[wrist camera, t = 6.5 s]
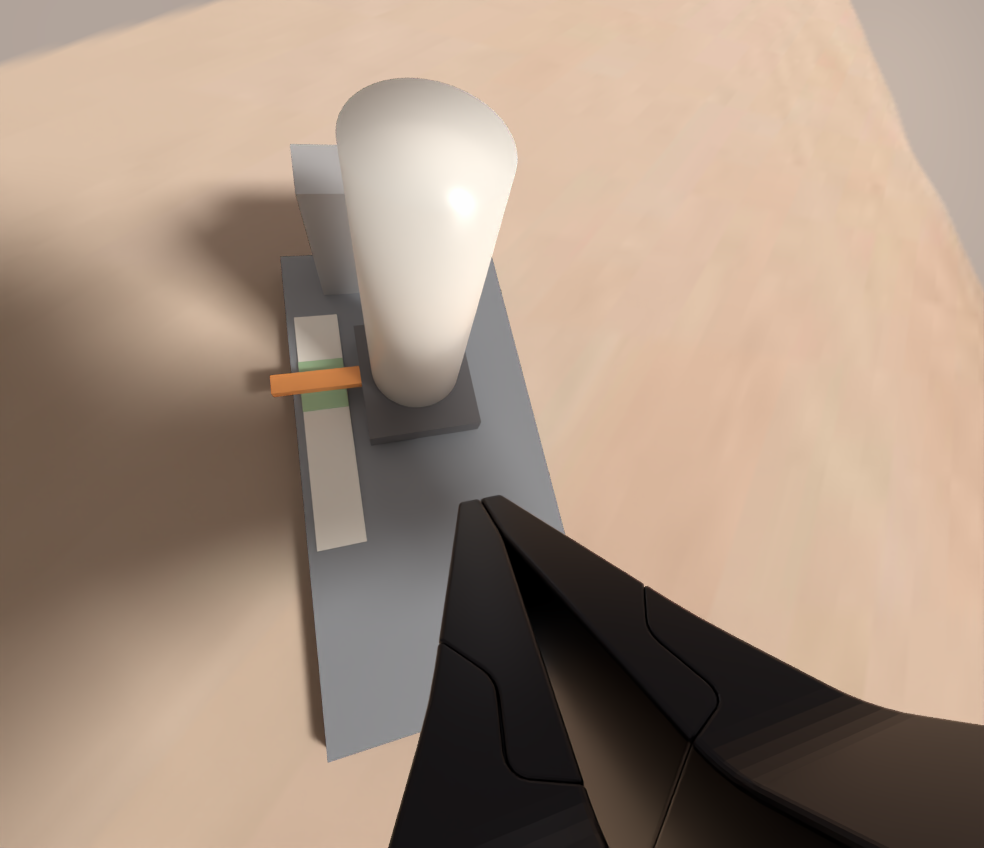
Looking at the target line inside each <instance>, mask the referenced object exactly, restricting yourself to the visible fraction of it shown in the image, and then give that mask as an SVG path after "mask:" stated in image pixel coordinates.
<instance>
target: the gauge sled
mask: <svg viewBox="0 0 984 848" xmlns="http://www.w3.org/2000/svg"><path fill="white" fill-rule="evenodd" d="M336 141H337V148H338V155H339V161H340V168H341V174H342V181H343V187H344V194H345V201H346V207H347V214H348V220H349V227H350V233H351V240H352V247H353V253H354V260H355V266H356V273H357V279H358V286H359V293H360V299H361V306H362V312H363V319H364V325H357V326H353V327H354V334H355V340H356V347H357V354H358V361H359V366H353V367H343V368H334V369H325V370H315V371H306V372H297V373H288V374H278V375H270V384H271V394H272V396H273V397H279V396H288V395H296V394H304V393H313V392H321V391H329V390H338V389H346V388H354V387H362V389H363V396H364V403H365V410H366V417H367V424H368V430H369V437H370V442H371V445H378V444H384V443H391V442H397V441H404V440H410V439H416V438H423V437H429V436H436V435H442V434H449V433H455V432H462V431H468V430H475V429H478V427H479V426H480V424H481V419H480V415H479V410H478V406H477V401H476V397H475V392H474V388H473V384H472V379H471V375H470V370H469V366H468V361H467V357H466V352H465V349H466V346H467V342H468V339H469V335H470V332H471V328H472V325H473V321H474V317H475V314H476V310H477V307H478V303H479V300H480V296H481V293H482V289H483V286H484V282H485V279H486V275H487V272H488V268H489V264H490V261H491V257H492V254H493V250H494V247H495V243H496V240H497V236H498V233H499V229H500V226H501V222H502V218H503V215H504V211H505V208H506V204H507V201H508V197H509V194H510V190H511V187H512V183H513V180H514V176H515V173H516V169H517V161H518V158H517V149H516V145H515V142H514V139H513V136H512V134H511V132H510V131H509V129H508V127H507V126H506V124H505V123H504V122H503V120H502V119H501V118H500V117H499V116H498V115H497V114H496V112H495V111H493V110H492V109H491V108H490V107H489V106H488V105H486V104H485V103H484V102H482V101H481V100H480V99H478V98H476V97H475V96H473V95H471V94H470V93H468V92H466V91H463V90H461V89H459V88H457V87H454V86H451V85H449V84H445V83H442V82H438V81H433V80H428V79H420V78H397V79H390V80H384V81H381V82H377V83H374V84H372V85H369V86H367V87H365V88H363V89H362V90H360V91H358V92H357V93H356V94H354V95H353V96H352V97H351V98H350V99H349V100H348V101H347V102H346V103H345V105H344V106H343V108H342V110H341V111H340V113H339V116H338V119H337V123H336Z"/></svg>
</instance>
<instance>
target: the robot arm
mask: <svg viewBox="0 0 984 848" xmlns="http://www.w3.org/2000/svg"><path fill="white" fill-rule="evenodd" d="M388 848H984V725H978V724H971V723H965V722H959V721H952V720H946V719H939V718H933V717H927V716H920V715H914V714H909V713H903V712H899V711H895V710H891V709H887V708H884V707H881V706H878V705H875V704H872V703H869V702H866V701H863V700H861V699H858V698H856V697H853V696H851V695H848V694H846V693H844V692H842V691H840V690H838V689H836V688H834V687H832V686H829V685H827V684H826V683H824V682H822V681H820V680H818V679H816V678H814V677H812V676H810V675H808V674H806V673H804V672H802V671H800V670H799V669H797V668H795V667H793V666H791V665H789V664H787V663H785V662H783V661H781V660H779V659H777V658H775V657H773V656H772V655H770V654H768V653H766V652H764V651H762V650H760V649H758V648H756V647H754V646H752V645H750V644H748V643H746V642H745V641H743V640H741V639H739V638H737V637H735V636H733V635H731V634H729V633H728V632H726V631H724V630H722V629H720V628H718V627H716V626H715V625H713V624H711V623H709V622H707V621H705V620H704V619H702V618H700V617H698V616H696V615H695V614H693V613H691V612H690V611H688V610H686V609H685V608H683V607H681V606H679V605H678V604H676V603H674V602H673V601H671V600H669V599H668V598H666V597H664V596H663V595H661V594H660V593H658V592H656V591H655V590H653V589H652V588H650V587H648V586H645V587H644V585H643V583H642V582H640V581H638V580H637V579H635V578H634V577H632V576H630V575H629V574H627V573H626V572H624V571H622V570H621V569H619V568H618V567H616V566H614V565H613V564H611V563H610V562H608V561H606V560H605V559H603V558H602V557H600V556H598V555H597V554H595V553H594V552H592V551H590V550H589V549H587V548H586V547H584V546H582V545H581V544H579V543H577V542H576V541H574V540H573V539H571V538H569V537H568V536H566V535H565V534H563V533H561V532H560V531H558V530H557V529H555V528H553V527H552V526H550V525H549V524H547V523H545V522H544V521H542V520H541V519H539V518H537V517H536V516H534V515H533V514H531V513H529V512H528V511H526V510H525V509H523V508H521V507H520V506H518V505H517V504H515V503H513V502H512V501H510V500H508V499H507V498H505V497H504V496H502V495H495V496H490V497H485V498H482V499H481V501H480V500H478V499H475V500H470V501H465V502H461V503H460V504H459V507H458V514H457V521H456V527H455V534H454V541H453V548H452V555H451V561H450V568H449V575H448V582H447V589H446V595H445V602H444V609H443V616H442V623H441V629H440V636H439V645H438V648H437V655H436V661H435V668H434V674H433V679H432V684H431V690H430V695H429V701H428V705H427V709H426V713H425V717H424V721H423V725H422V729H421V733H420V737H419V741H418V745H417V749H416V752H415V756H414V759H413V763H412V766H411V770H410V773H409V777H408V780H407V784H406V787H405V791H404V794H403V798H402V801H401V805H400V808H399V812H398V815H397V819H396V822H395V826H394V829H393V833H392V836H391V840H390V843H389V847H388Z"/></svg>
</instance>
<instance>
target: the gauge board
mask: <svg viewBox="0 0 984 848" xmlns="http://www.w3.org/2000/svg"><path fill="white" fill-rule="evenodd" d="M290 149H291V158H292V167H293V176H294V185H295V194H296V198H297V201H298V205H299V208H300V212H301V215H302V219H303V223H304V226H305V230H306V233H307V237H308V240H309V244H310V247H311V251H312V255H306V256H283V257H280V258H281V268H282V279H283V290H284V301H285V311H286V322H287V333H288V343H289V354H290V365H291V373H297V372H306V371H315V370H325V369H334V368H343V367H353V366H359V361H358V354H357V347H356V340H355V334H354V327H353V326H357V325H364V319H363V312H362V306H361V299H360V293H359V286H358V279H357V273H356V266H355V260H354V253H353V247H352V240H351V233H350V227H349V220H348V214H347V207H346V201H345V194H344V187H343V181H342V174H341V168H340V161H339V155H338V148H337V145H312V144H290ZM465 352H466V357H467V361H468V366H469V370H470V375H471V379H472V384H473V388H474V392H475V397H476V401H477V406H478V410H479V415H480V419H481V424H480V426H479V427H478V429H475V430H468V431H462V432H455V433H449V434H442V435H436V436H429V437H423V438H416V439H410V440H404V441H397V442H391V443H384V444H378V445H371V442H370V437H369V430H368V424H367V417H366V410H365V403H364V396H363V389H362V387H354V388H346V389H338V390H329V391H321V392H313V393H304V394H296V395H293V397H294V407H295V418H296V429H297V439H298V450H299V461H300V471H301V482H302V493H303V503H304V514H305V525H306V535H307V546H308V557H309V567H310V578H311V589H312V599H313V610H314V621H315V631H316V642H317V653H318V663H319V674H320V685H321V695H322V706H323V717H324V728H325V738H326V749H327V760H328V762H331V761H334V760H337V759H340V758H343V757H346V756H349V755H352V754H356V753H359V752H362V751H365V750H368V749H371V748H374V747H377V746H380V745H383V744H386V743H389V742H392V741H395V740H398V739H401V738H404V737H407V736H410V735H413V734H416V733H419V732H421V729H422V725H423V721H424V717H425V713H426V709H427V705H428V701H429V695H430V690H431V684H432V679H433V674H434V668H435V661H436V655H437V648H438V645H439V636H440V629H441V623H442V616H443V609H444V602H445V595H446V589H447V582H448V575H449V568H450V561H451V555H452V548H453V541H454V534H455V527H456V521H457V514H458V507H459V504H460V503H461V502H465V501H470V500H475V499H478V500H480V501H481V499H482V498H485V497H490V496H495V495H502V496H504V497H505V498H507V499H508V500H510V501H512V502H513V503H515V504H517V505H518V506H520V507H521V508H523V509H525V510H526V511H528V512H529V513H531V514H533V515H534V516H536V517H537V518H539V519H541V520H542V521H544V522H545V523H547V524H549V525H550V526H552V527H553V528H555V529H557V530H558V531H560V532H561V533H563V534H565V532H564V528H563V524H562V521H561V517H560V513H559V509H558V505H557V502H556V498H555V494H554V490H553V486H552V483H551V479H550V475H549V471H548V467H547V464H546V460H545V456H544V452H543V449H542V445H541V441H540V437H539V433H538V430H537V426H536V422H535V418H534V414H533V411H532V407H531V403H530V399H529V395H528V392H527V388H526V384H525V380H524V377H523V373H522V369H521V365H520V361H519V358H518V354H517V350H516V346H515V342H514V339H513V335H512V331H511V327H510V323H509V320H508V316H507V312H506V308H505V305H504V301H503V297H502V293H501V289H500V286H499V282H498V278H497V274H496V270H495V267H494V263H493V259H492V257H491V261H490V264H489V268H488V272H487V275H486V279H485V282H484V286H483V289H482V293H481V296H480V300H479V303H478V307H477V310H476V314H475V317H474V321H473V325H472V328H471V332H470V335H469V339H468V342H467V346H466V349H465Z"/></svg>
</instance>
